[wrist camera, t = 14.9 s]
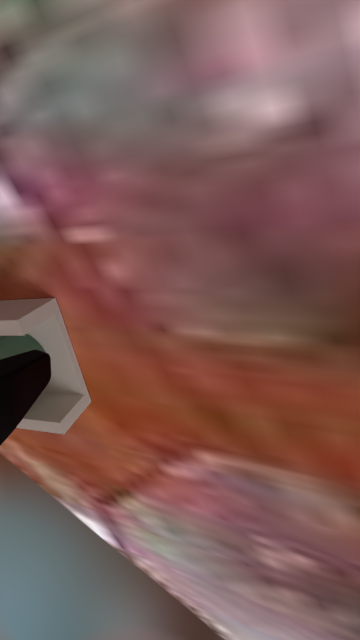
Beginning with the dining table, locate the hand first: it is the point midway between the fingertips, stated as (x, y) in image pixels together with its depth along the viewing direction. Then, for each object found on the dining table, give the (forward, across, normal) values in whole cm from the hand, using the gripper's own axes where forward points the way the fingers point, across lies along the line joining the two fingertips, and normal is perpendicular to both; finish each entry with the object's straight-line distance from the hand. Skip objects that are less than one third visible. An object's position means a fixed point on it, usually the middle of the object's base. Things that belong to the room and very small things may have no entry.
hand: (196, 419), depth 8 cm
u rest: (+13, +17, +13) cm, 25 cm away
